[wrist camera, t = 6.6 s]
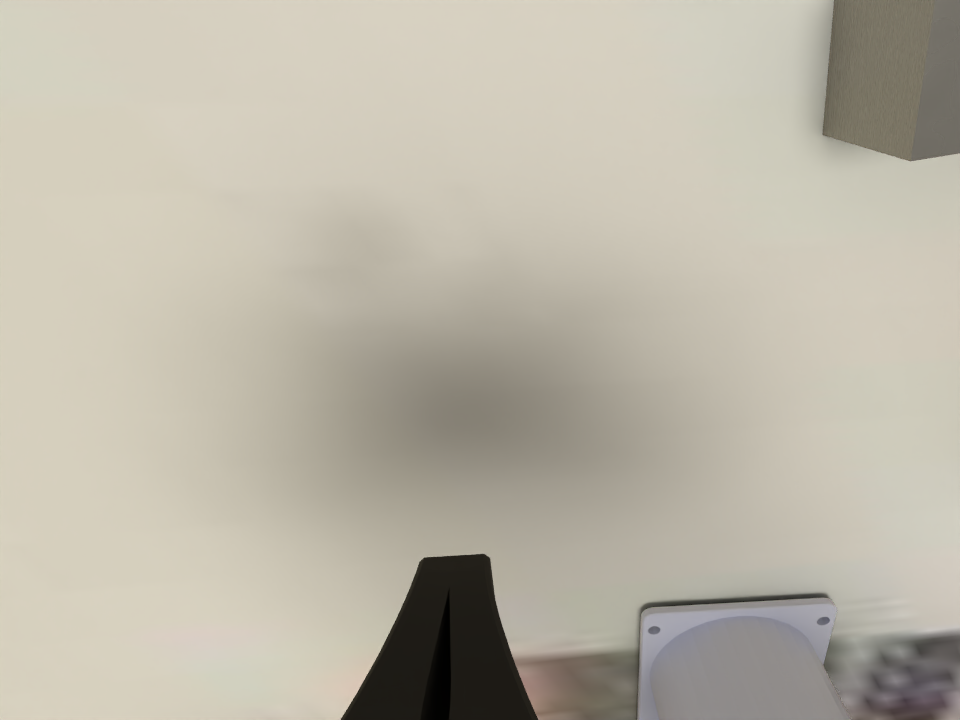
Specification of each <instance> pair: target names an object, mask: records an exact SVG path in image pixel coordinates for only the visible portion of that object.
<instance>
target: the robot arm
mask: <svg viewBox="0 0 960 720" xmlns="http://www.w3.org/2000/svg"><path fill="white" fill-rule="evenodd" d="M836 614H837V607H836V606H835V604H834V602H833V601H832V600H831V599H829V598H807V599H789V600H772V601H754V602H737V603H719V604H701V605H684V606H666V607H652V608H648V609H646V610H644V611H643V612H642V614H641V625H640V653H639V681H638V708H637V720H851V718H850V716H849V714H848V712H847V710H846V708H845V706H844V705H843V703H842V701H841V699H840V697H839V695H838V693H837V691H836V689H835V687H834V686H833V684H832V682H831V680H830V678H829V676H828V674H827V672H826V670H825V669H824V667H823V665H824V661H825V657H826V653H827V649H828V645H829V641H830V637H831V633H832V629H833V626H834V622H835V618H836ZM341 720H538V718H537V716H536V714H535V712H534V709H533V707H532V705H531V702H530V700H529V698H528V695H527V693H526V691H525V688H524V686H523V683H522V681H521V678H520V676H519V673H518V670H517V668H516V665H515V662H514V660H513V657H512V654H511V651H510V648H509V645H508V642H507V639H506V636H505V633H504V630H503V627H502V624H501V620H500V617H499V613H498V609H497V605H496V601H495V595H494V587H493V579H492V570H491V562H490V558H489V557H488V556H486V555H485V554H476V555H460V556H443V557H427V558H423V559H422V560H421V561H420V562H419V565H418V568H417V571H416V574H415V577H414V579H413V582H412V584H411V587H410V589H409V592H408V594H407V596H406V599H405V601H404V603H403V606H402V608H401V610H400V612H399V614H398V617H397V619H396V621H395V623H394V625H393V627H392V629H391V631H390V633H389V635H388V637H387V639H386V641H385V643H384V645H383V647H382V649H381V651H380V653H379V655H378V657H377V658H376V660H375V662H374V664H373V666H372V667H371V669H370V671H369V673H368V674H367V676H366V678H365V680H364V682H363V683H362V685H361V687H360V689H359V690H358V692H357V694H356V696H355V697H354V699H353V701H352V702H351V704H350V705H349V707H348V709H347V710H346V712H345V714H344V715H343V717H342V718H341Z"/></svg>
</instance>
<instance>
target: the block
mask: <svg viewBox="0 0 960 720" xmlns="http://www.w3.org/2000/svg"><path fill="white" fill-rule="evenodd" d="M823 135H825V136H828V137H832V138H835V139H838V140H842V141H845V142H848V143H852V144H855V145H858V146H862V147H865V148H868V149H871V150H875V151H878V152H881V153H885V154H888V155H891V156H895V157H898V158H901V159H905V160H908V161H915V160H921V159H927V158H933V157H939V156H945V155H952V154H958V153H960V0H834V9H833V20H832V32H831V43H830V55H829V66H828V78H827V89H826V101H825V112H824V124H823Z"/></svg>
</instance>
